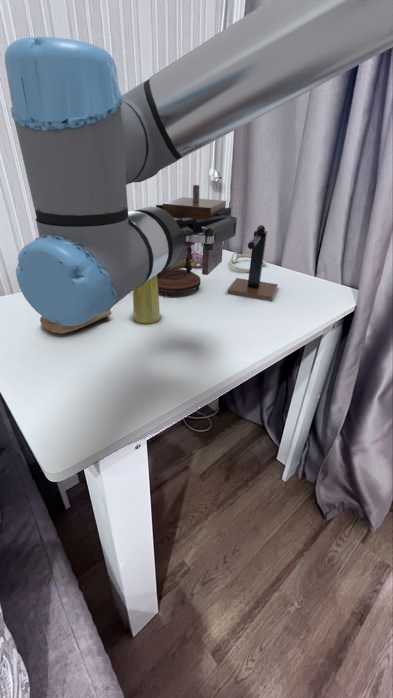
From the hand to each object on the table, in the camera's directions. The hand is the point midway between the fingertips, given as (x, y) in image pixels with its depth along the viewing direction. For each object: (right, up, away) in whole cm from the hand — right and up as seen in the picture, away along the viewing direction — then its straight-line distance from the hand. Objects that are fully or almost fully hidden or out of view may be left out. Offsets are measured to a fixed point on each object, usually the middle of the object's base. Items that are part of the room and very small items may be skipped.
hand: (205, 214), depth 57 cm
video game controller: (-4, +4, +53) cm, 53 cm away
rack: (+13, -8, +33) cm, 37 cm away
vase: (-13, -16, +19) cm, 28 cm away
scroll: (-8, -6, +36) cm, 37 cm away
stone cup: (-27, -18, +16) cm, 36 cm away
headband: (+15, +5, +55) cm, 57 cm away
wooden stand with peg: (-2, -9, 0) cm, 9 cm away
